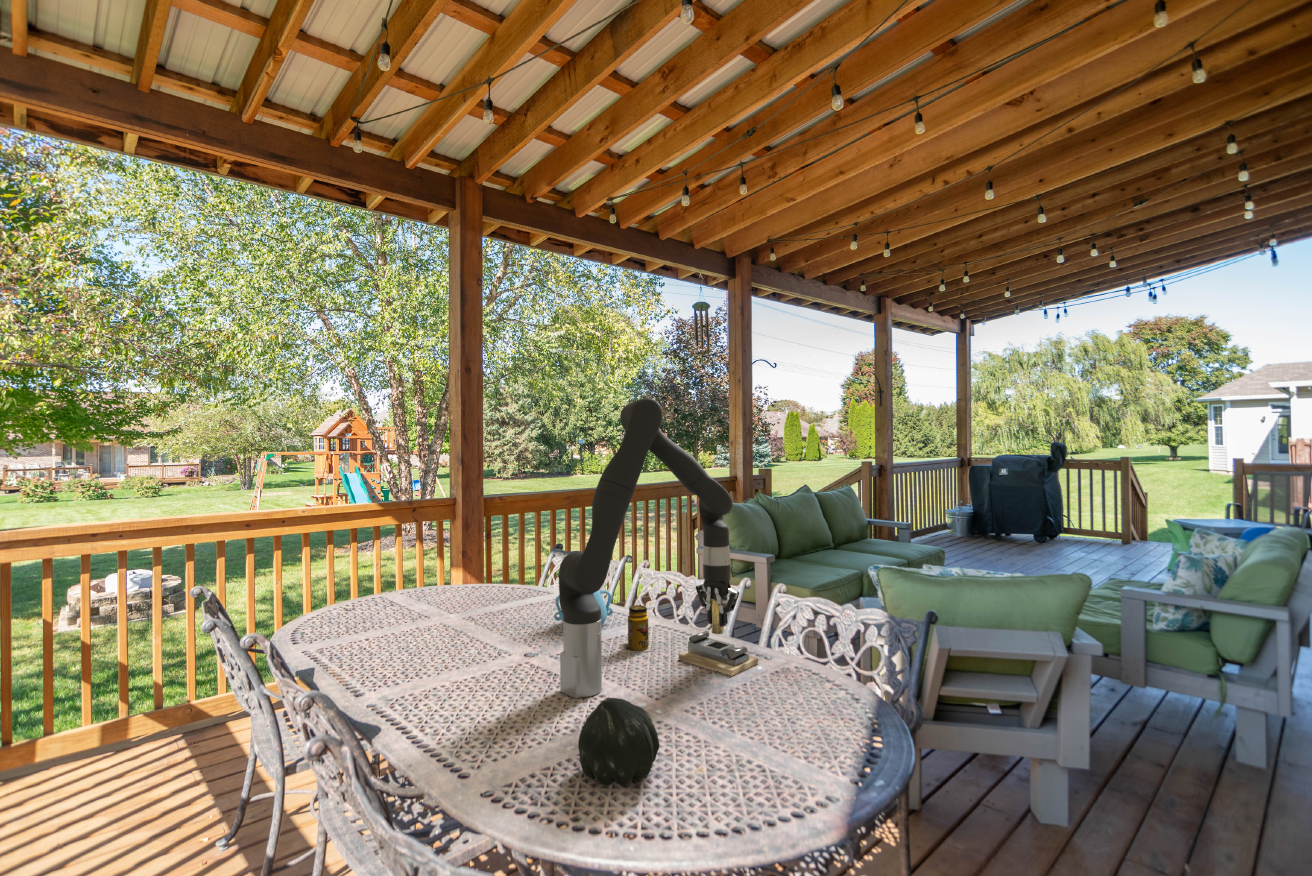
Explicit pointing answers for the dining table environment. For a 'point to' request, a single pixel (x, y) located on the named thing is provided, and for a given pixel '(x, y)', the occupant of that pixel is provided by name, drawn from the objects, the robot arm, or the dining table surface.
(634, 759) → the squash
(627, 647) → the condiment
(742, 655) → the clamp block fixture
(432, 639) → the dining table surface
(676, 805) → the dining table surface
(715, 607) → the brass pin
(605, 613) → the decorative pot
